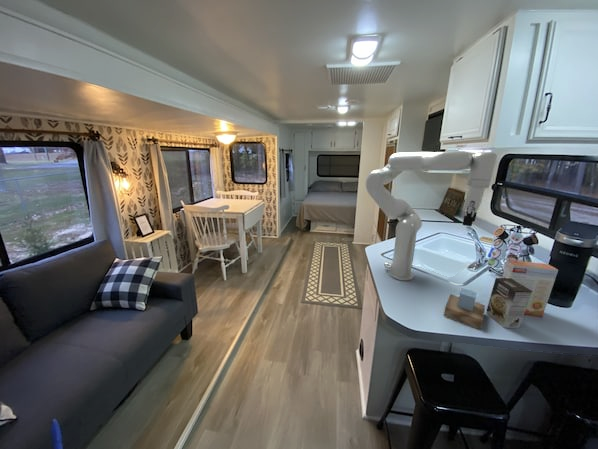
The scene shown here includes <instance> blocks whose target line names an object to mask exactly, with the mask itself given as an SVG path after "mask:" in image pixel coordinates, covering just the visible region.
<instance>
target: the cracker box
mask: <svg viewBox="0 0 598 449" xmlns="http://www.w3.org/2000/svg"><path fill="white" fill-rule="evenodd" d="M558 273H559V269H557V268H556V267H554V266H552V265H551V264H549V263H542V262H534V261H533V262H532V261H524V260H523V261H522V260H512V259H507V260H506V264H505V265H504V270H503V273H502V277H501V278H511V279H513V280H515V281H516V282H518V283H520V284H521V285H523V286H525V287H526V288H528V289H530V290H531V291H532V293H531V296H530V299H529V302H528V304H527V307H526V310H525V313H524V315H530V316H538V317H543V316H544V313H545V310H546V307H547V305H548V302H549V298H550V296H551V293H552V290H553V287H554V284H555V281H556V277H557V275H558Z"/></svg>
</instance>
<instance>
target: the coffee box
mask: <svg viewBox="0 0 598 449" xmlns="http://www.w3.org/2000/svg"><path fill="white" fill-rule="evenodd" d="M531 293H532V291H531V290H530V289H528V288H526V287H525V286H523V285H521V284H520V283H518V282H516V281H515V280H513V279H511V278H502V277H495V279H494V283H493V285H492V290H491V294H490V297H489V300H488V303H487V307H486V311H485V314H487V315H488V316H489V317H490V318H492V319H493V320H494V321H495V322H496V323H497V324H498V325H499V326H500V327H502V328H505V329H508V328H509V329H520V326H521V324H522V320H523V317H524V316H525V314H524V313H525V310H526V307H527V304H528V302H529V299H530V296H531Z"/></svg>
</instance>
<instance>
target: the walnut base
mask: <svg viewBox="0 0 598 449" xmlns="http://www.w3.org/2000/svg"><path fill="white" fill-rule="evenodd" d="M458 300H459V296H457V295H456V294H455V295H454V294H452V293H450V294H449V297H448V300H447V302H446V305H445V307H444V312H443V316H444V317H446V318H449V319H451V320H454V321H457V322H459V323H461V324H465V325H468V326H470V327H472V328H476V329H478V330H481V329H482V326H483V323H484V322H483V321H484V318H485V317H484V316H485V307H486V305H485V304H482V303H480V302H477V301H475V303H474V307H473V311H469V310H466V309H463V308H460V307H457V304H458Z"/></svg>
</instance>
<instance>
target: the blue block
mask: <svg viewBox="0 0 598 449" xmlns="http://www.w3.org/2000/svg"><path fill="white" fill-rule="evenodd" d="M477 294H478V292H477V291H472V290H470V289H465V288H463V287H461V290H460V293H459V296H458V297H459V300H458V304H457V307H460V308H463V309H466V310H469V311H473V307H474V303H475V302H476V298H477Z"/></svg>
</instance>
